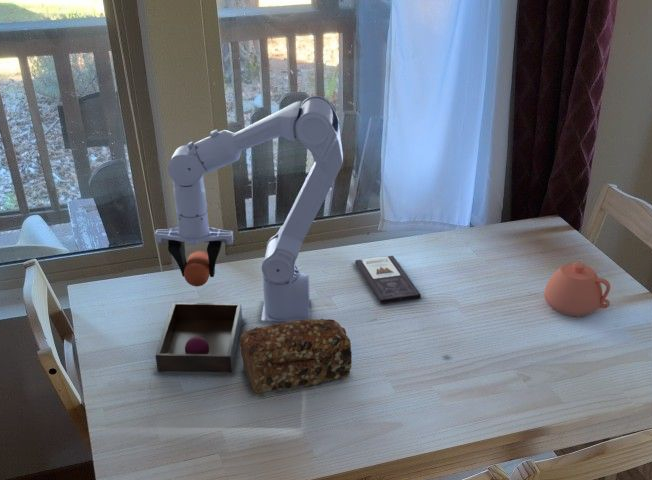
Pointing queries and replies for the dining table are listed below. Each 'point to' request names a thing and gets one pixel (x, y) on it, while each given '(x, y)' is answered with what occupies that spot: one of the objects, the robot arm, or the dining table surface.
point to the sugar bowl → (576, 290)
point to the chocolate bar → (387, 279)
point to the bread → (295, 354)
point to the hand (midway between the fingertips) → (198, 274)
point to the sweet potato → (197, 268)
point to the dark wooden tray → (200, 321)
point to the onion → (197, 346)
